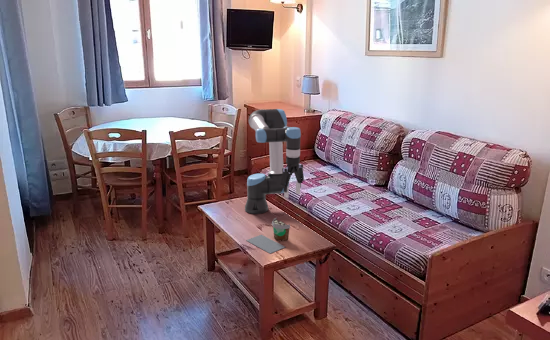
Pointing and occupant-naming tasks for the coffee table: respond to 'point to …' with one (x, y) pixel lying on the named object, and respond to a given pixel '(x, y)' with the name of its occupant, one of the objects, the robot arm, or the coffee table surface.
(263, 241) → the mat
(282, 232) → the food container
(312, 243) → the coffee table surface
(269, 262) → the coffee table surface
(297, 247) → the coffee table surface
